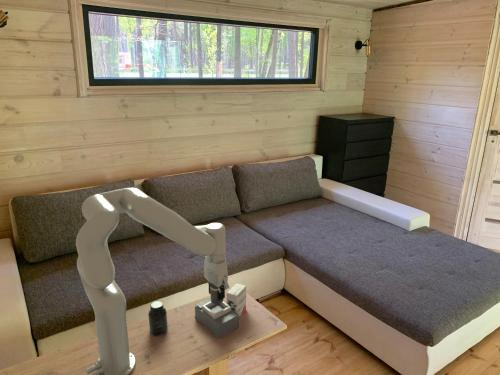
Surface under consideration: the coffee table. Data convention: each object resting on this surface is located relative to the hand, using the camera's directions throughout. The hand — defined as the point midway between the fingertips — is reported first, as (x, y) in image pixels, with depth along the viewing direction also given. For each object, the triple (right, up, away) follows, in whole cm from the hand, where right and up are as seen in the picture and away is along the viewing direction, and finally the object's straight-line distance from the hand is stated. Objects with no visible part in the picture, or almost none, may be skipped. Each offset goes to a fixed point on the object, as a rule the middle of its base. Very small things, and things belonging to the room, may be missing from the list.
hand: (216, 295), depth 146 cm
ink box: (+7, -10, +10) cm, 16 cm away
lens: (0, -2, +1) cm, 2 cm away
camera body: (0, -12, +4) cm, 13 cm away
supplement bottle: (-23, -14, -1) cm, 26 cm away
